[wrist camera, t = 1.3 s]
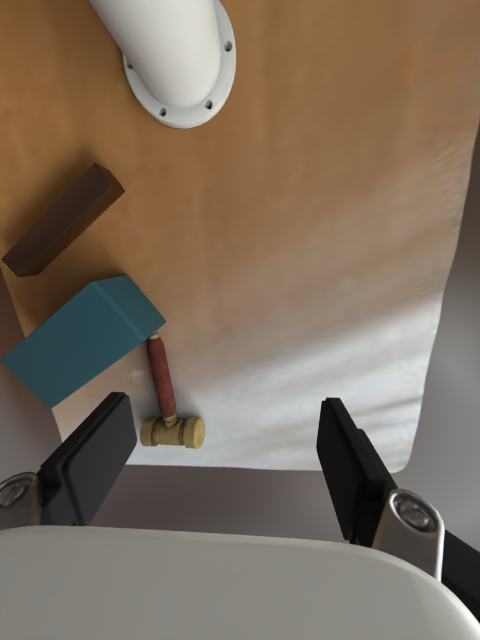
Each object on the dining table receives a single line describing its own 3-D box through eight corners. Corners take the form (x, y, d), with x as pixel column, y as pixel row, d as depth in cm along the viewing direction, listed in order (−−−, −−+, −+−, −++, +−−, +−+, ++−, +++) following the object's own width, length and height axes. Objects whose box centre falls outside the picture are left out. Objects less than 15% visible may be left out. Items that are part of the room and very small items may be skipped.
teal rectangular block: (50, 338, 38) (-1, 361, 30) (127, 274, 34) (90, 281, 26) (89, 378, 40) (50, 409, 32) (166, 321, 36) (143, 341, 28)
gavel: (113, 333, 34) (173, 329, 32) (132, 325, 39) (187, 321, 37) (142, 452, 39) (197, 455, 37) (156, 433, 43) (206, 435, 41)
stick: (21, 258, 34) (0, 259, 31) (109, 170, 30) (94, 162, 27) (37, 275, 35) (17, 277, 32) (125, 191, 31) (112, 185, 28)
